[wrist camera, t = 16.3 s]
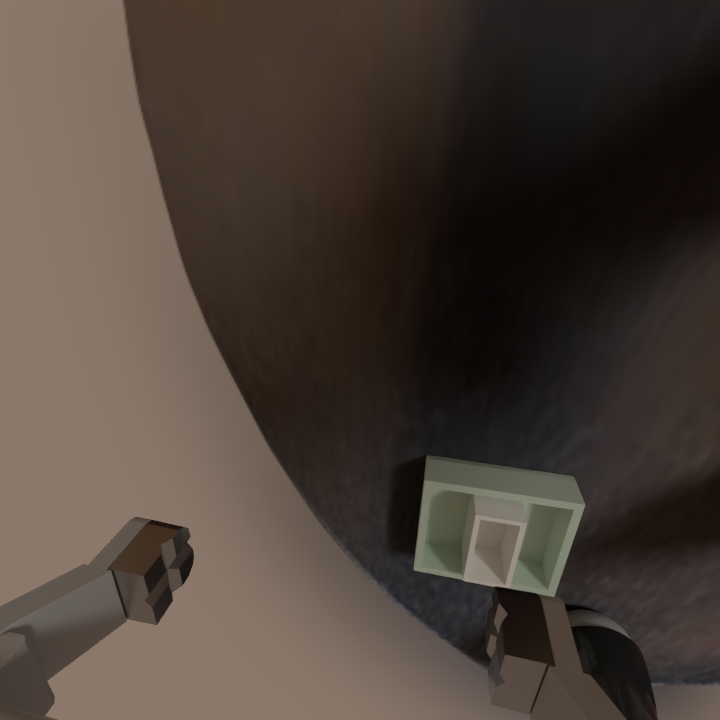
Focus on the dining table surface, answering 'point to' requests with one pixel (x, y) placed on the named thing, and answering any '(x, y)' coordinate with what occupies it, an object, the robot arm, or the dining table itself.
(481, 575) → the small tote
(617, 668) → the pump dispenser
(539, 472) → the box
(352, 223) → the dining table surface
